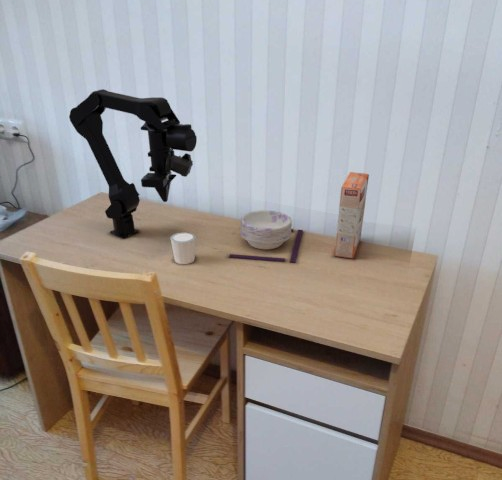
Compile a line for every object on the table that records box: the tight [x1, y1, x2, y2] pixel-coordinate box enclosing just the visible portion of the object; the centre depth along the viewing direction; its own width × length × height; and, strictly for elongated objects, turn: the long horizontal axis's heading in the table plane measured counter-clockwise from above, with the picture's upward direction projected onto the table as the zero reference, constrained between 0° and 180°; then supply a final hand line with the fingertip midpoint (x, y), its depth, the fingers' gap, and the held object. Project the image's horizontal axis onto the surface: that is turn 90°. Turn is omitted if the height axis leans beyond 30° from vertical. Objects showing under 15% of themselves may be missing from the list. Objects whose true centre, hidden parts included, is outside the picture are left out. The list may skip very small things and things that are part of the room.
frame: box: [228, 228, 304, 264], centre depth 160 cm, size 19×22×1 cm
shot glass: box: [170, 232, 196, 265], centre depth 150 cm, size 7×7×7 cm
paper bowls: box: [239, 209, 293, 250], centre depth 159 cm, size 15×15×8 cm
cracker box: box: [333, 171, 370, 259], centre depth 152 cm, size 14×6×21 cm, turn 161°
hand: (165, 201), depth 155 cm, fingers closed
